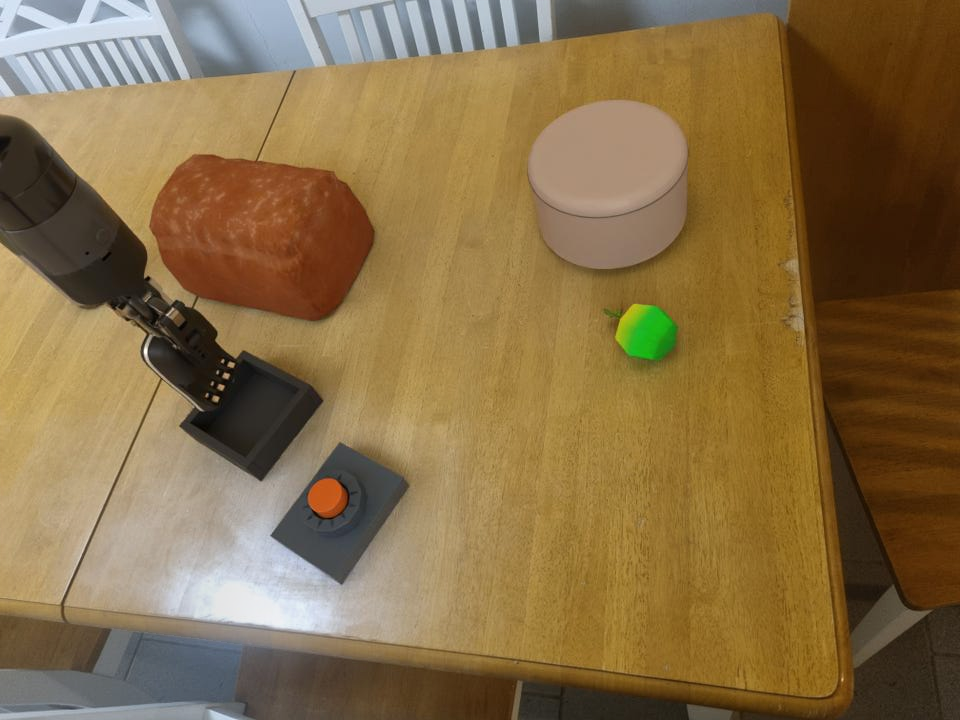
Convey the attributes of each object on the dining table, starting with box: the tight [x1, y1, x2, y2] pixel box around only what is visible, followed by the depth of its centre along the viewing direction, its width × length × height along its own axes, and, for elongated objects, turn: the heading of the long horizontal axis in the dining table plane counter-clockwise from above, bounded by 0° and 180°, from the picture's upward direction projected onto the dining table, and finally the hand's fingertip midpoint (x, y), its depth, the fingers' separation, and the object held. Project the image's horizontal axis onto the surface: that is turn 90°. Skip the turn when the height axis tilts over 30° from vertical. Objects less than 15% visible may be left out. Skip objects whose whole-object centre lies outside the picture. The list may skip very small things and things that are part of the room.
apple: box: [601, 303, 679, 362], centre depth 78 cm, size 7×6×9 cm
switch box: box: [269, 441, 410, 586], centre depth 76 cm, size 12×9×4 cm
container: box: [526, 99, 690, 270], centre depth 86 cm, size 18×18×12 cm
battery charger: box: [139, 306, 240, 411], centre depth 75 cm, size 7×4×11 cm, turn 167°
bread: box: [148, 153, 375, 322], centre depth 94 cm, size 17×24×15 cm
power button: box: [308, 478, 348, 518], centre depth 74 cm, size 4×4×2 cm
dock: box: [178, 349, 324, 482], centre depth 85 cm, size 12×12×4 cm
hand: (187, 350), depth 74 cm, fingers closed on battery charger, 5 cm apart
